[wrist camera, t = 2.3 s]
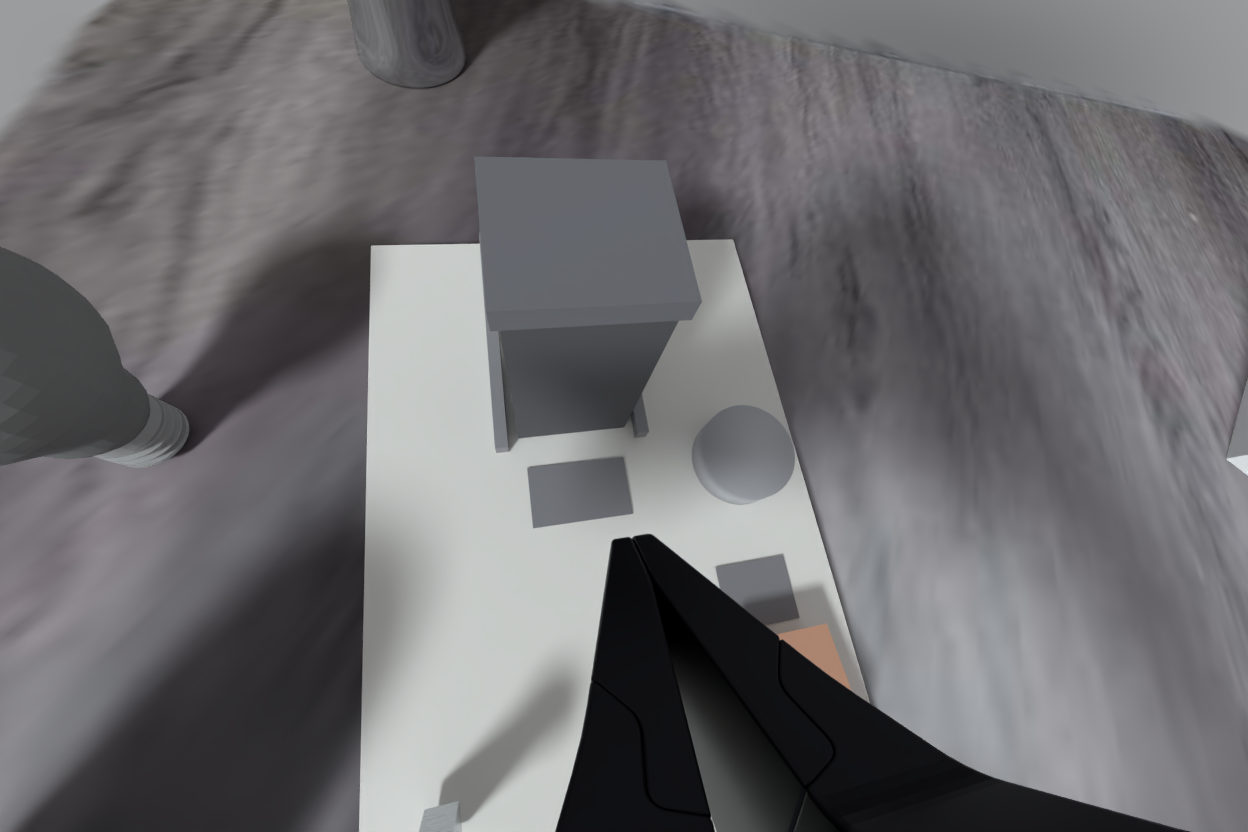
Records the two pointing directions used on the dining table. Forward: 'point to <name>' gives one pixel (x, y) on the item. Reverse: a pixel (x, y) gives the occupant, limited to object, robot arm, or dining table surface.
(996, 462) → the dining table surface
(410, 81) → the beer glass
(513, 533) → the panel
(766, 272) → the dining table surface
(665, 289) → the grey lidded box
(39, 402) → the light bulb
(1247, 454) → the milk
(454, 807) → the lever
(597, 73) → the dining table surface
